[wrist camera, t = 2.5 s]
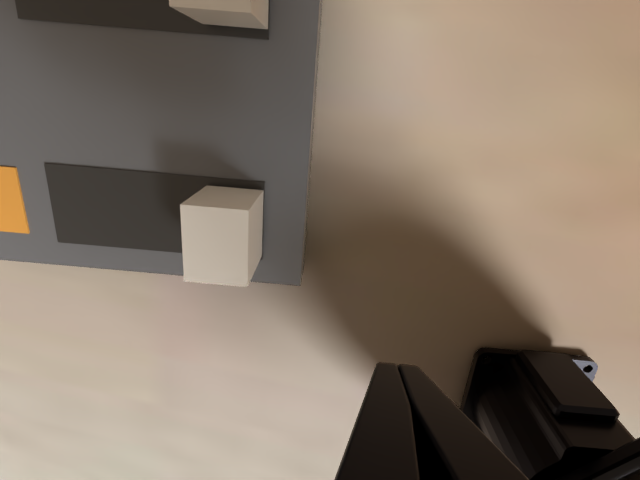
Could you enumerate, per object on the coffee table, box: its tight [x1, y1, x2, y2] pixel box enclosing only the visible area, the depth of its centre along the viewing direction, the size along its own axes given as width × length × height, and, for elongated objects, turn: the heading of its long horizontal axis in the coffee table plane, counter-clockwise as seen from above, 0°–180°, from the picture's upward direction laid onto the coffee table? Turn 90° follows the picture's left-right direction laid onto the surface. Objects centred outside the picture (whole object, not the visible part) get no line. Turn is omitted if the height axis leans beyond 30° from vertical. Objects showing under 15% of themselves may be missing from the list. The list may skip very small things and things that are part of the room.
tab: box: [180, 186, 264, 287], centre depth 15 cm, size 3×2×3 cm
